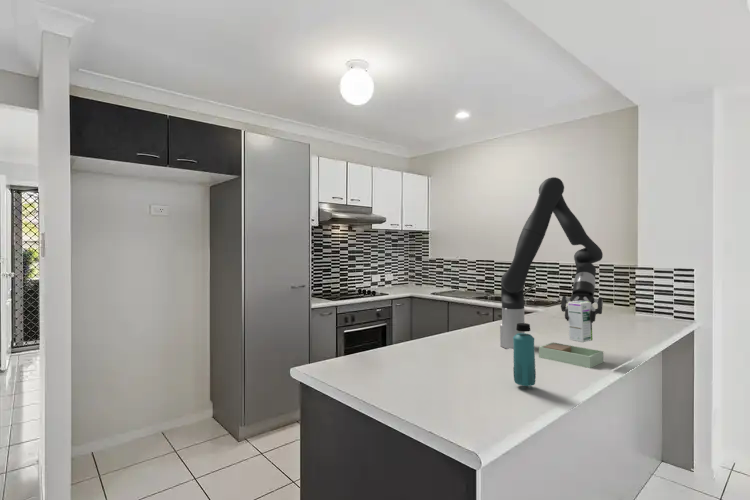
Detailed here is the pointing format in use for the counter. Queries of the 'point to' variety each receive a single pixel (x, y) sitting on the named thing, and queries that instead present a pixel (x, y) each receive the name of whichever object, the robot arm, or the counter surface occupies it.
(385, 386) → the counter surface
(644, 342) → the counter surface
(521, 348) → the beverage bottle
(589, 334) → the syrup box
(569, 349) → the coffee brick
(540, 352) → the tray
